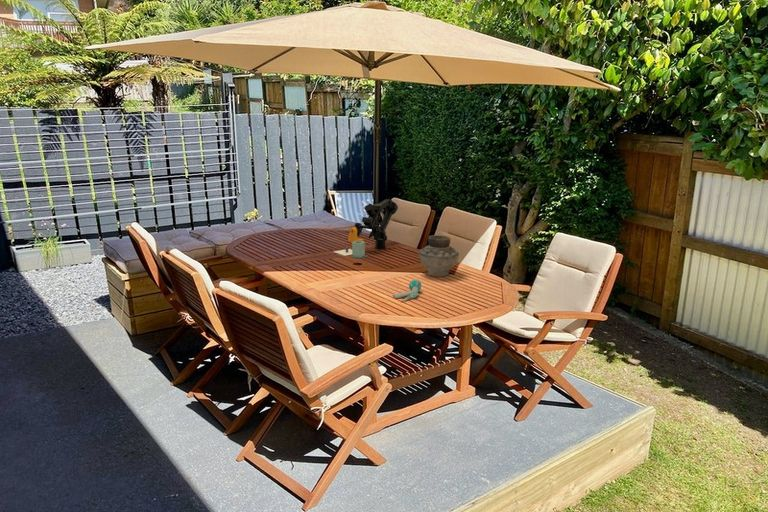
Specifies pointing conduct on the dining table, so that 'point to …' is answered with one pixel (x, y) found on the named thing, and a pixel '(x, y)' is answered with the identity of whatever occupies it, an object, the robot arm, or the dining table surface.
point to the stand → (360, 258)
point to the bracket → (353, 235)
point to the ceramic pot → (438, 256)
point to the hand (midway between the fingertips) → (363, 237)
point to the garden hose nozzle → (414, 287)
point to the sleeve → (358, 249)
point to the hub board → (344, 252)
